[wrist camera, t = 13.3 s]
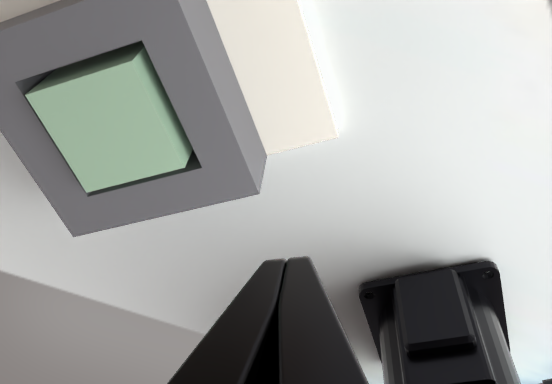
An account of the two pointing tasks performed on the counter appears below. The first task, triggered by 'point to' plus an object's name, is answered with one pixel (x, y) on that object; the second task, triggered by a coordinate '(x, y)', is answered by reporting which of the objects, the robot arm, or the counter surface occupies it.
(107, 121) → the button
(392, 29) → the counter surface
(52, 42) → the picture board
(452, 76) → the counter surface
